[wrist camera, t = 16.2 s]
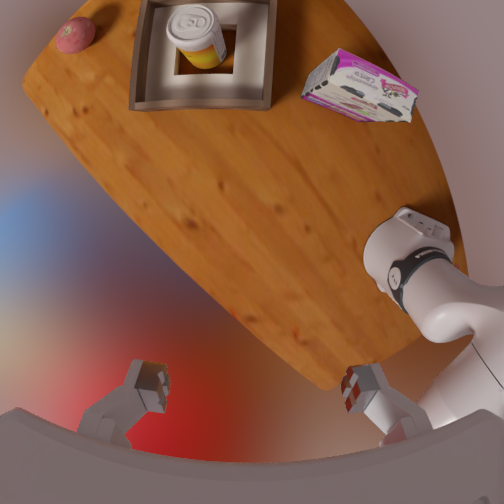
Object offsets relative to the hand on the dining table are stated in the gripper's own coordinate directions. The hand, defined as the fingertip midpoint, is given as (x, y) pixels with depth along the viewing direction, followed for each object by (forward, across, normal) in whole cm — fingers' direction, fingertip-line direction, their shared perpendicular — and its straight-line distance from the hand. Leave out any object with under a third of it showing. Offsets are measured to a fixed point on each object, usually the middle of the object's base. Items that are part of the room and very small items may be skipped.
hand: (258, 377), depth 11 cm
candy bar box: (+37, +13, +17) cm, 43 cm away
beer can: (+37, -8, +23) cm, 45 cm away
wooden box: (+37, -8, +23) cm, 44 cm away
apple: (+37, -32, +30) cm, 58 cm away
